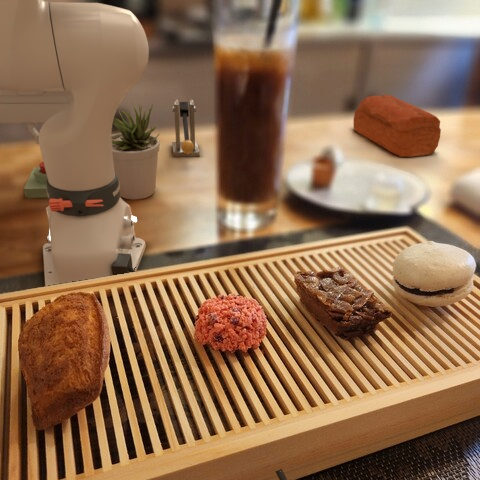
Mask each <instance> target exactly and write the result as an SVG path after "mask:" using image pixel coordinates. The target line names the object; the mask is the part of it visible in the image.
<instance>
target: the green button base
mask: <svg viewBox="0 0 480 480" xmlns="http://www.w3.org/2000/svg"><path fill="white" fill-rule="evenodd" d="M46 179H47V175H46V174H44V173H41V170H40V166H39V165H38V166H37V167H33V169H32V170H31V173H30V175H29V177H28V179H27V181H26V183H25V185H24V187H23V191H24V195H25V198H26V199H42V198H45V199H48V196H47V190H46V188H47V186H46Z"/></svg>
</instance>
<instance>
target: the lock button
mask: <svg viewBox="0 0 480 480" xmlns="http://www.w3.org/2000/svg"><path fill="white" fill-rule="evenodd" d="M39 166H40V170H41V173H44V174H46V170H45V166H44V162H43V161H40V162H39V165H38V167H39Z"/></svg>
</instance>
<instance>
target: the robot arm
mask: <svg viewBox="0 0 480 480" xmlns="http://www.w3.org/2000/svg"><path fill="white" fill-rule="evenodd" d="M147 37H148V36H147V33H146V31H145V29H144V26H143V25H142V24H141V22H140V20H139V19H138V18H137V16H136V15H135V14H134V13H133V12H132V11H131V10H129V9H125V8H123V7H118V6H114V5H110V4H105V3H100V2H59V1H58V2H57V1H48V0H0V124H25V125H26V129H27V130H28V131H29V132H30V133H31V134H32V136H33V137H34V139H35V143H36V145H39V149H40V155H41V157H42V162H44V166H45V170H46V175H47V179H46V186H47V188H46V190H47V196H48V198H47V199H48V205H47V207H45V212H46V215H47V220H48V232H49V233H48V235H47V236H46V242H47V243H45V244H43V246H42V256H43V257H42V258H43V272H44V273H43V274H44V275H43V276H44V287H45V286H48V285H53V284H59V283H65V282H72V281H79V280H85V279H92V278H98V277H104V276H111V275H117V274H124V273H129V272H135V271H136V272H137V271H138V268H139V266H140V264H141V261H142V259H143V255H144V254H145V250H146V248H147V245H146V241H145V240H144V239H142V238H139V237H137V236H136V232H135V227H134V226H135V225H134V223H137V222H138V219H137V216H134V215H132V214H133V213H132V208H131V205H130V204H129V203H127V202H126V201H125V200H124V199H123V198H122V197H121V196H120V183H119V180H118V176H117V174H116V173H115V171H114V163H113V154H112V135H113V134H112V132H113V125H114V124H113V122H114V120H115V119H114V117H116V113H117V112H118V110H117V109H118V108H119V106H120V105H121V102H122V101H123V99H124V98H125V97H126V95H127V93H129V92H130V90H131V89H133V88H134V86H135V85H137V84H138V83H139V82H140V80H142V78H143V77H144V74H145V73H146V71H147V68H148V64H149V58H150V47H149V42H148V38H147ZM37 124H42V126H41V127H40V129H39V131H38V130H37V129H36V125H37ZM135 267H136V268H135ZM134 268H135V270H134ZM274 471H275V470H274ZM280 471H281V472H280ZM275 474H276V476H277V477H278V480H288V478H287V476H286V474H285V472H284V471H283V468H282V469H280V470H278V471H275Z"/></svg>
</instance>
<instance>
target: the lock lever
mask: <svg viewBox="0 0 480 480" xmlns="http://www.w3.org/2000/svg"><path fill="white" fill-rule="evenodd" d="M178 104H179V118H182V125H183V127H182V128H183V136H184V137H183V138H184V140H183V141H182V142H183V143H182V145H181V149H182V151H183V152H184V153H186V154H189V153H191V152H192V151H193V150H194V145H193V143H192V142H191V141H190V131H189V124H188V118H190V113H189V101H178Z"/></svg>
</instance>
